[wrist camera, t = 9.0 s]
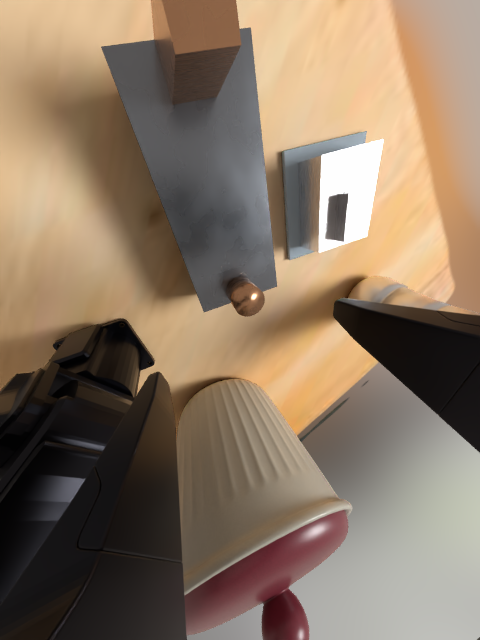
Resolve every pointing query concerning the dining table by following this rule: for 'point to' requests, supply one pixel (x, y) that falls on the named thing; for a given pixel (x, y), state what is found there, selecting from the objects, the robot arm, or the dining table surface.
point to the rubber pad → (292, 183)
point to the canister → (249, 511)
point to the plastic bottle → (398, 295)
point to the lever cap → (337, 196)
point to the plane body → (203, 144)
